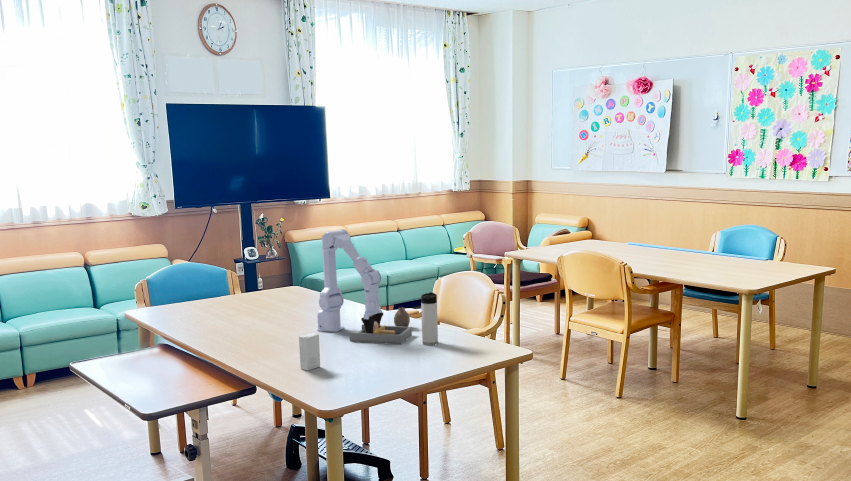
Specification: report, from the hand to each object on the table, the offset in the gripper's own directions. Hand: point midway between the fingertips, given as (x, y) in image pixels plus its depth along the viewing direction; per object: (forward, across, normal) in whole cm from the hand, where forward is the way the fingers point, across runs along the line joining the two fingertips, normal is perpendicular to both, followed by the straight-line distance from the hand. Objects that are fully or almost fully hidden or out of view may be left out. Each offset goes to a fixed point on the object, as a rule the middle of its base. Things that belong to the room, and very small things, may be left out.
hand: (373, 332), depth 283 cm
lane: (+2, 0, -4) cm, 4 cm away
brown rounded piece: (+2, +18, -6) cm, 19 cm away
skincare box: (+2, -43, +8) cm, 44 cm away
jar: (+2, 0, 0) cm, 2 cm away
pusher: (+2, 0, -6) cm, 6 cm away
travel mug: (+2, -3, -26) cm, 26 cm away
